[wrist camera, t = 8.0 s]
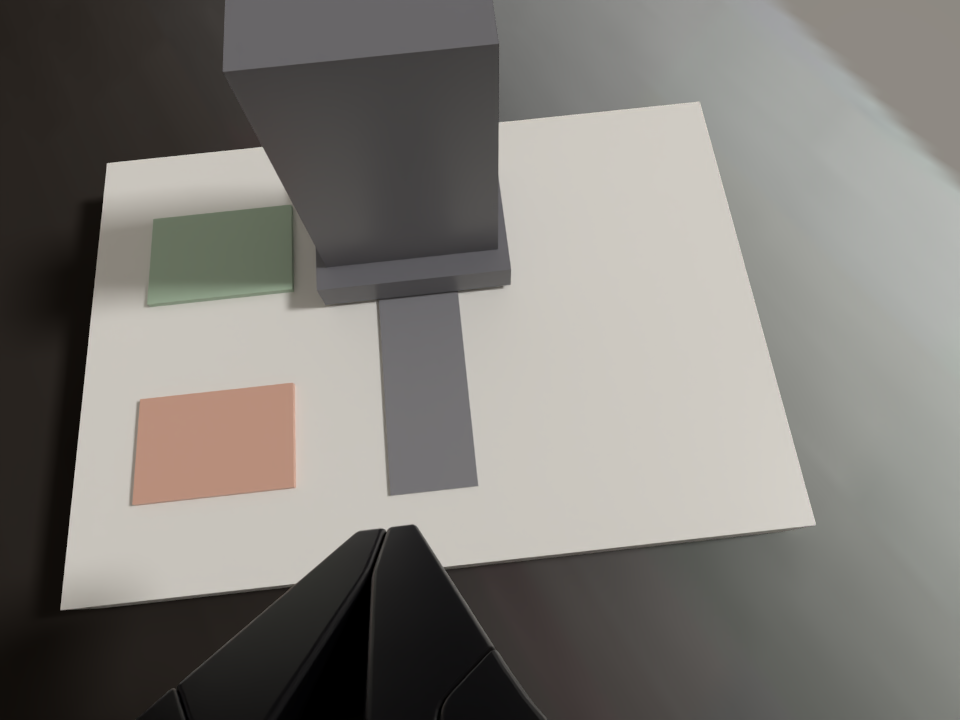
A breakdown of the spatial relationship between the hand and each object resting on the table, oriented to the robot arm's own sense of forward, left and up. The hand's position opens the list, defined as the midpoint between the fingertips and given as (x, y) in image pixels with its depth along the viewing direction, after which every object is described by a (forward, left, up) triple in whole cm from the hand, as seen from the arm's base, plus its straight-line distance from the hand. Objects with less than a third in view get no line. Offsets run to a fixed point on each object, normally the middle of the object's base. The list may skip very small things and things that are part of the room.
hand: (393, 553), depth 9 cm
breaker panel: (+6, +3, -10) cm, 13 cm away
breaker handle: (+9, +4, -8) cm, 13 cm away
